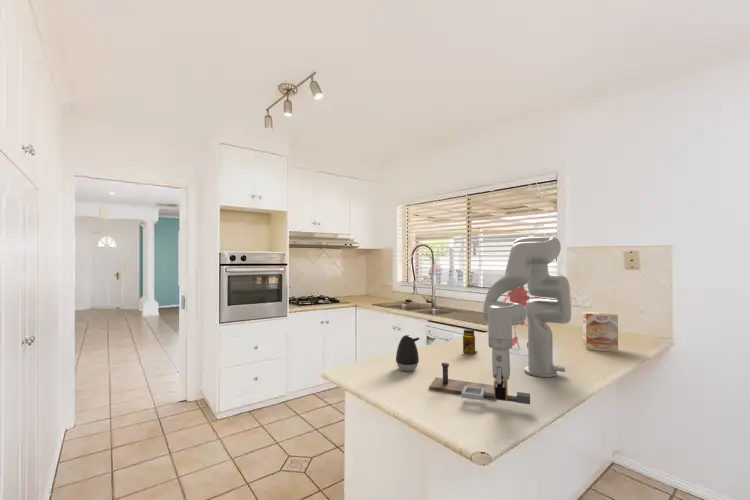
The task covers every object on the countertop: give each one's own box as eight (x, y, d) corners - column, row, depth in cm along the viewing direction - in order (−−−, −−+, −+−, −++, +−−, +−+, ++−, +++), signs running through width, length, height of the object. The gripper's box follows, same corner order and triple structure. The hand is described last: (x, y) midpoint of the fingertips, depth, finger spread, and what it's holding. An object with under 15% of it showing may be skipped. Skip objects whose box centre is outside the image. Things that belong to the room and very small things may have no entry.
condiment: (461, 354, 184) (461, 331, 184) (463, 350, 192) (463, 327, 192) (476, 355, 181) (476, 331, 181) (477, 351, 189) (477, 328, 189)
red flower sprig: (507, 343, 205) (505, 282, 205) (549, 354, 183) (548, 285, 183) (488, 347, 197) (487, 284, 197) (531, 359, 175) (529, 287, 175)
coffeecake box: (586, 350, 191) (585, 313, 191) (582, 346, 198) (582, 311, 198) (618, 352, 187) (618, 314, 187) (614, 348, 193) (613, 312, 194)
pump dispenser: (418, 374, 154) (418, 338, 154) (394, 372, 156) (394, 337, 156) (420, 366, 164) (420, 333, 164) (397, 365, 166) (397, 332, 166)
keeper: (498, 388, 136) (498, 365, 137) (495, 399, 126) (495, 374, 126) (436, 380, 146) (436, 358, 146) (429, 389, 136) (428, 366, 136)
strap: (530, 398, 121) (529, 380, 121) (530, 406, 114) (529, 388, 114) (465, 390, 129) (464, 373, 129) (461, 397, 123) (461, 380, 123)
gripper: (510, 350, 112) (511, 409, 112) (513, 337, 127) (514, 389, 127) (485, 347, 115) (486, 405, 115) (491, 336, 130) (491, 386, 130)
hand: (500, 396), depth 121 cm, fingers closed on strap, 3 cm apart
